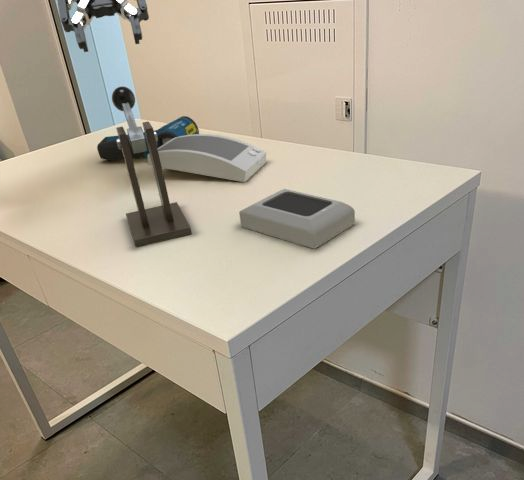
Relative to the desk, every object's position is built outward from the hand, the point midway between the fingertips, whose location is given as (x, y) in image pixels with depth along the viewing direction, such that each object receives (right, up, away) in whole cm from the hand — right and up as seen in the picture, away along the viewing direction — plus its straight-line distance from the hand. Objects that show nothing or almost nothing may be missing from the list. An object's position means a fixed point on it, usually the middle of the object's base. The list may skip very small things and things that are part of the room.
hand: (111, 44), depth 90 cm
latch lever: (+4, -15, -4) cm, 17 cm away
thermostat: (+14, -14, +20) cm, 29 cm away
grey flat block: (+30, -31, -5) cm, 44 cm away
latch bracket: (+8, -30, 0) cm, 31 cm away
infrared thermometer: (0, -6, +34) cm, 35 cm away
